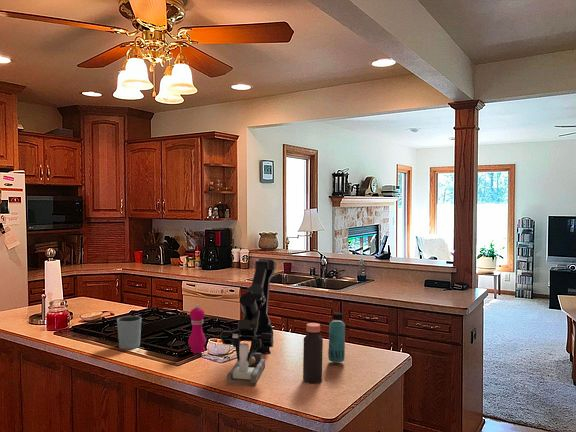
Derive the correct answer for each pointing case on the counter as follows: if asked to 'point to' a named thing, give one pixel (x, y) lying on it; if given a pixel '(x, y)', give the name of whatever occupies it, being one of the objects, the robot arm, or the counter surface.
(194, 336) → the pepper mill
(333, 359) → the beverage bottle
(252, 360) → the walnut
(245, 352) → the press jaw
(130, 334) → the drinking glass
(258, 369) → the base plate with post
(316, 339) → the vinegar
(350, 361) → the counter surface
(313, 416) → the counter surface
